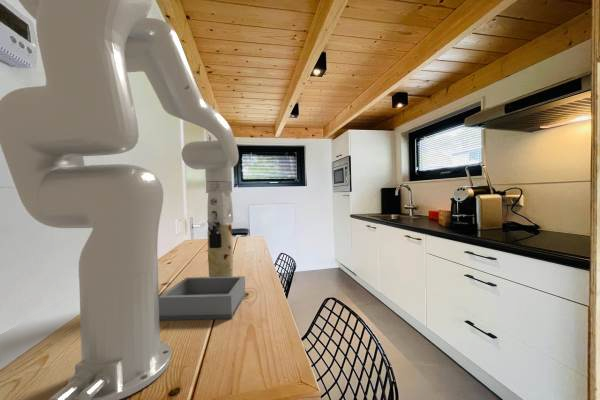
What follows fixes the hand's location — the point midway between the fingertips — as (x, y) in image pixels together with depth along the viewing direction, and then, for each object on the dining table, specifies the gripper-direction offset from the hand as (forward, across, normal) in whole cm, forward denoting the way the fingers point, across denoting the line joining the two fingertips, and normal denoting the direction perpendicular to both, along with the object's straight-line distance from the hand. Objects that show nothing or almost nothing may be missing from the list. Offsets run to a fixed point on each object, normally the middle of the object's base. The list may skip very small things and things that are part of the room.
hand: (221, 244), depth 73 cm
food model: (+13, -1, 0) cm, 13 cm away
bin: (+12, -15, -1) cm, 19 cm away
